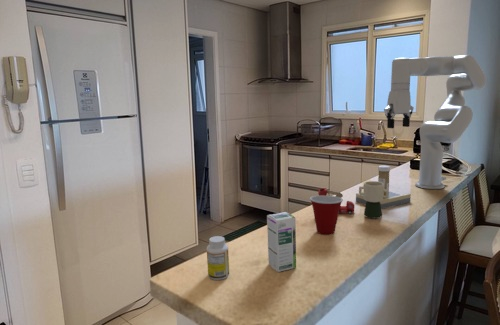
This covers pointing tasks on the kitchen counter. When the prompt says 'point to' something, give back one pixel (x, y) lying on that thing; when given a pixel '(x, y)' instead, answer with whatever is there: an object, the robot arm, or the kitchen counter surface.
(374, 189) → the character mug
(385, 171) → the sprinkles bottle
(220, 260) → the supplement bottle
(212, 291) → the kitchen counter surface
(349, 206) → the toy fire truck
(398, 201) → the tray
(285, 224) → the syrup box
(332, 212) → the plastic cup
